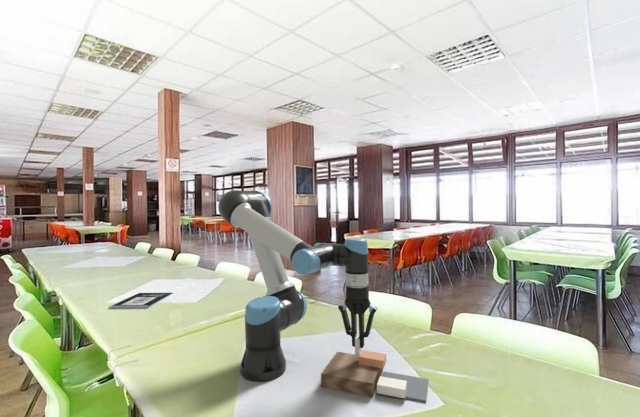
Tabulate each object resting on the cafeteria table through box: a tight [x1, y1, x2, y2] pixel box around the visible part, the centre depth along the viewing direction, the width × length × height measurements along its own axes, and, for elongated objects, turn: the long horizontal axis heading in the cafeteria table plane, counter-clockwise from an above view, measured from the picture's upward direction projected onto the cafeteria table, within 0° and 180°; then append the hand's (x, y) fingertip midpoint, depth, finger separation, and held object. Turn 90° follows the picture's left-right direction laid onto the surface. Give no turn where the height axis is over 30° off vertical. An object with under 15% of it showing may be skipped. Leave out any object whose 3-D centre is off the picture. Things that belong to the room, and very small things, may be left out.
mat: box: [375, 370, 429, 403], centre depth 100 cm, size 14×12×1 cm
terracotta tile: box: [359, 349, 387, 369], centre depth 107 cm, size 8×5×2 cm, turn 69°
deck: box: [320, 351, 384, 398], centre depth 105 cm, size 16×16×4 cm
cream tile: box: [376, 375, 407, 399], centre depth 97 cm, size 8×5×2 cm, turn 69°
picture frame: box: [108, 292, 174, 310], centre depth 193 cm, size 22×30×2 cm
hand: (358, 356), depth 109 cm, fingers closed
